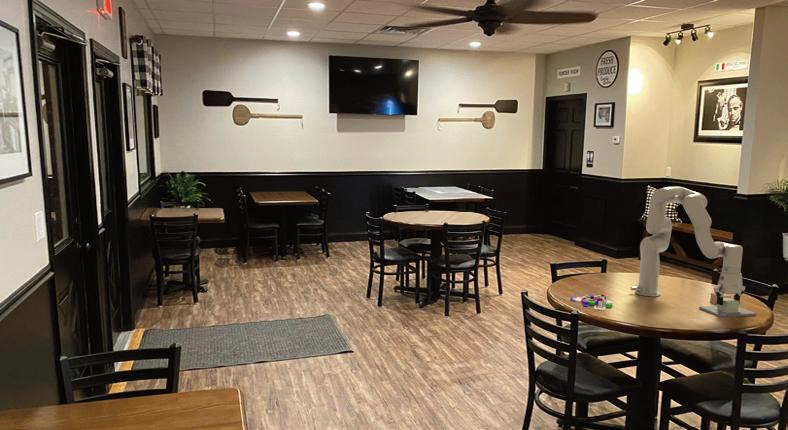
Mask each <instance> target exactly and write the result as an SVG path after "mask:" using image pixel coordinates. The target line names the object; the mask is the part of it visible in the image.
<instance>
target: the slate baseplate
mask: <svg viewBox="0 0 788 430" xmlns="http://www.w3.org/2000/svg"><path fill="white" fill-rule="evenodd" d="M698 309H699V310H700V311H703V312H706V313H709V314H711V315H713V316H716V317H717V318H736V317H737V318H738V317H741V316H742V317H755V316H757V312H754V311H751V310H749V309H747V308H743V307H740V306H739V307H738V311H735V312H726V311H723V310H721V309H718V308H717V305H706V306H705V305H704V306H699V307H698Z"/></svg>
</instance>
